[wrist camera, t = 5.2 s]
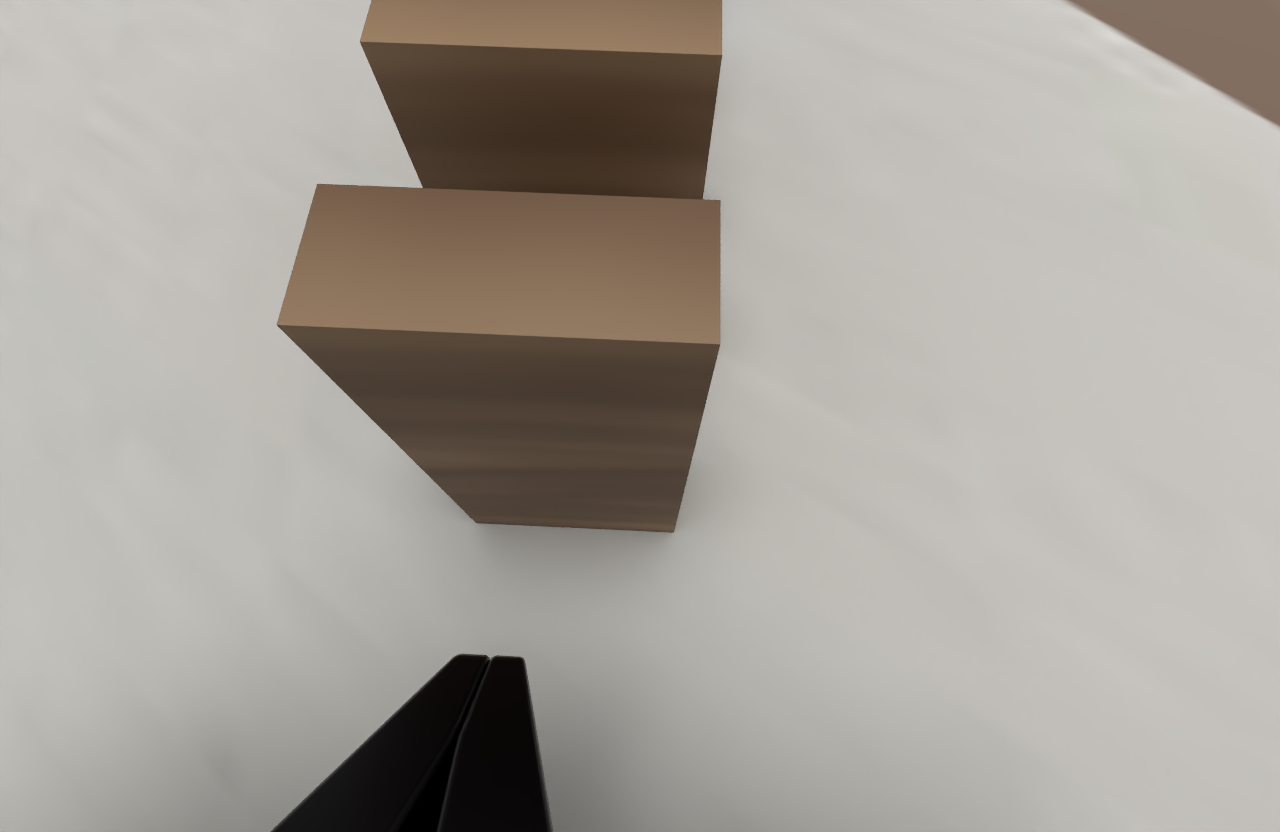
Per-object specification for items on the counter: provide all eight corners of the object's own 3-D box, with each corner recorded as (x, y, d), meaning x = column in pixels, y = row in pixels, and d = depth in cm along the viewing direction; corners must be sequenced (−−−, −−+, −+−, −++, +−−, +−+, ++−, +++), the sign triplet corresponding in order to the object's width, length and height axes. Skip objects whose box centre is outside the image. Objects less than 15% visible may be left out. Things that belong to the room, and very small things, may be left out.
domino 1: (678, 372, 18) (722, 54, 9) (499, 364, 18) (359, 41, 9) (680, 310, 19) (721, -43, 10) (508, 302, 19) (387, -55, 10)
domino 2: (673, 532, 17) (720, 344, 7) (476, 523, 17) (276, 324, 7) (675, 457, 17) (720, 199, 8) (486, 448, 17) (317, 183, 8)
